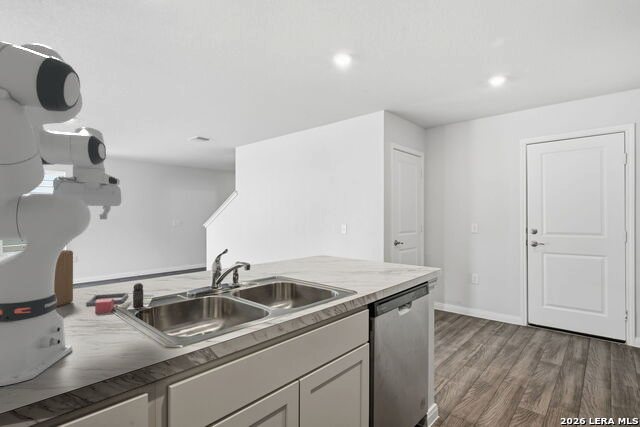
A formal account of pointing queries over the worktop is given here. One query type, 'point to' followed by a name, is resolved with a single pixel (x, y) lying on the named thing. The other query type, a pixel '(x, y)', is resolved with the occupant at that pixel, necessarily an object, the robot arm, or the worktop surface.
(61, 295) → the wooden block
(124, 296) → the dice tray
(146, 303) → the board
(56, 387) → the worktop surface
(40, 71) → the robot arm
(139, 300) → the pawn
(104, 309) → the red cube
